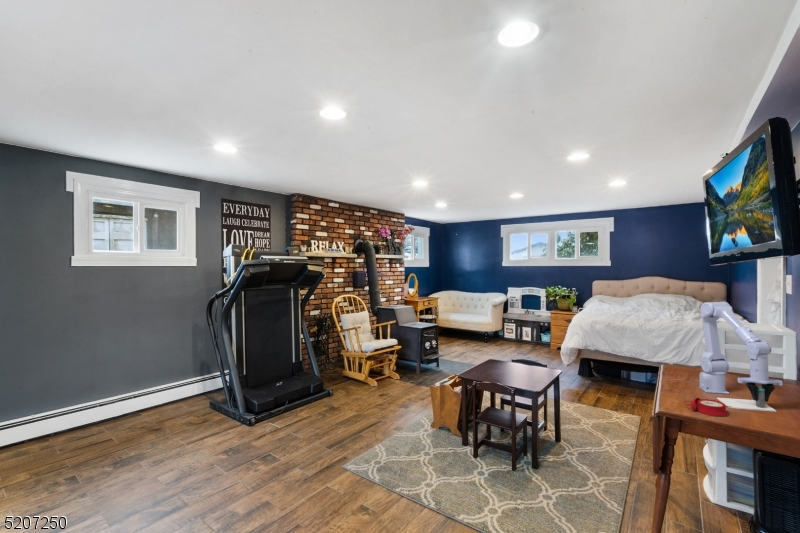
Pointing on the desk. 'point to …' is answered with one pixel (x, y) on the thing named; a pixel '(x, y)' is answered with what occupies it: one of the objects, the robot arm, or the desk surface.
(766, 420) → the desk surface
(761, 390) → the marker
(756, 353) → the robot arm
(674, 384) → the desk surface
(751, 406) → the notepad
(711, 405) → the alarm clock
